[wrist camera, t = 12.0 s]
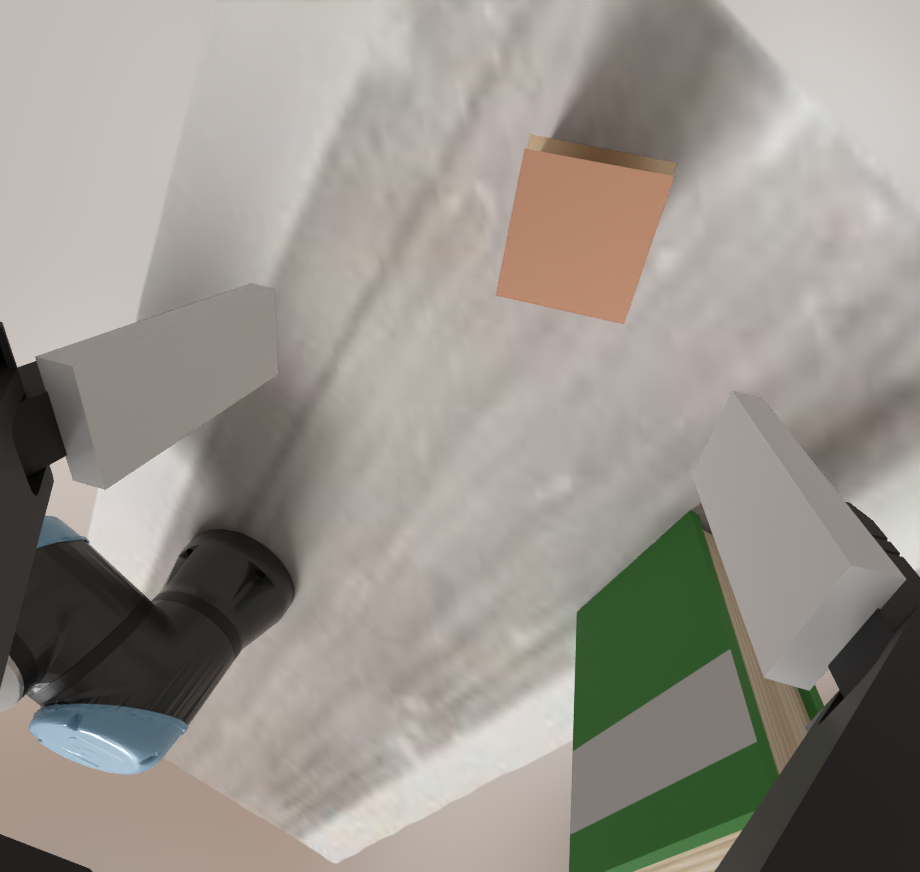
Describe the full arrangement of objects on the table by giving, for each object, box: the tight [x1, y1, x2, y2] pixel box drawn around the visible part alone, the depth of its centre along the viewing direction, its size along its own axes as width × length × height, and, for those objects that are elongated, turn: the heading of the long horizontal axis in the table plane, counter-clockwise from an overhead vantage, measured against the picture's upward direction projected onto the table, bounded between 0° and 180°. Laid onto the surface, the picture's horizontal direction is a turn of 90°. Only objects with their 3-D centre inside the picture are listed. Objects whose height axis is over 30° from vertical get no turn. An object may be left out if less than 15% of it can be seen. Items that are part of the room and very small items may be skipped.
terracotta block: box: [496, 149, 675, 324], centre depth 22 cm, size 6×6×6 cm
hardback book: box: [569, 510, 824, 872], centre depth 39 cm, size 18×7×24 cm, turn 152°
